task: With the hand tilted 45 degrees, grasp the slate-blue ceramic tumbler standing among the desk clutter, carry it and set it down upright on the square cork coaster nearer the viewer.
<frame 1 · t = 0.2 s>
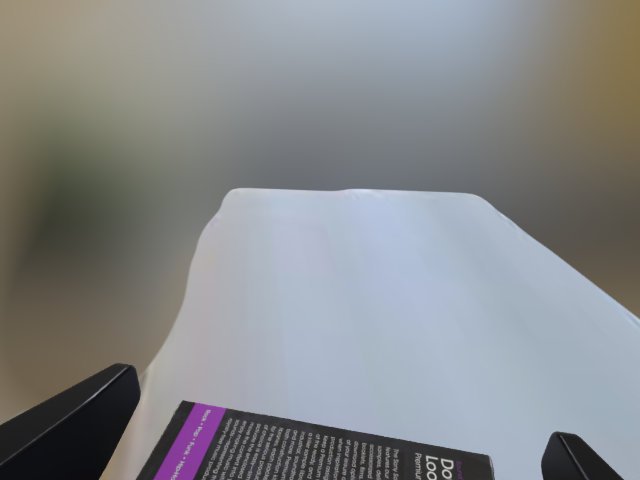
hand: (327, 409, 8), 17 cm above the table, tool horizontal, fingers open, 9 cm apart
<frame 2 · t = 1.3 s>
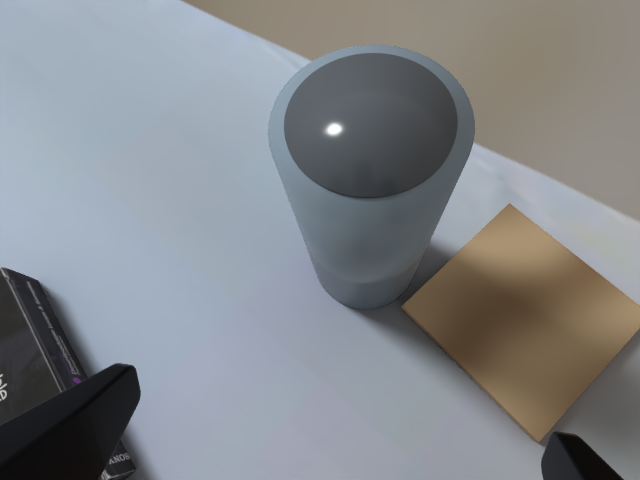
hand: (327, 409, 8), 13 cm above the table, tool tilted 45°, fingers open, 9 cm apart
coaster: (518, 312, 22), on the table
tumbler: (364, 259, 24), on the table
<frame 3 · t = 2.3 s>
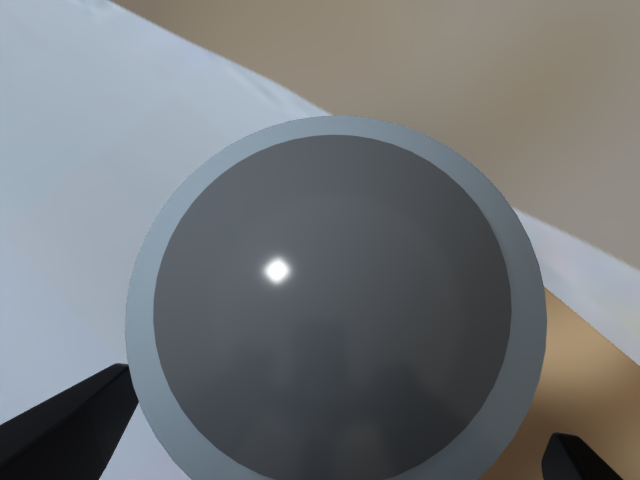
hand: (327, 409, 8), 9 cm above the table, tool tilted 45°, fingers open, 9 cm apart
coaster: (559, 443, 16), on the table
tumbler: (348, 359, 18), on the table
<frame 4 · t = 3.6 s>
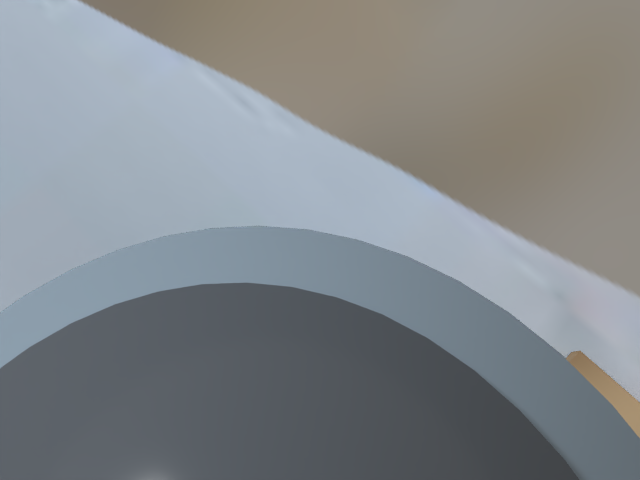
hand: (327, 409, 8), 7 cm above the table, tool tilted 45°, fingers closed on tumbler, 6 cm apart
tumbler: (336, 442, 14), on the table, touching gripper
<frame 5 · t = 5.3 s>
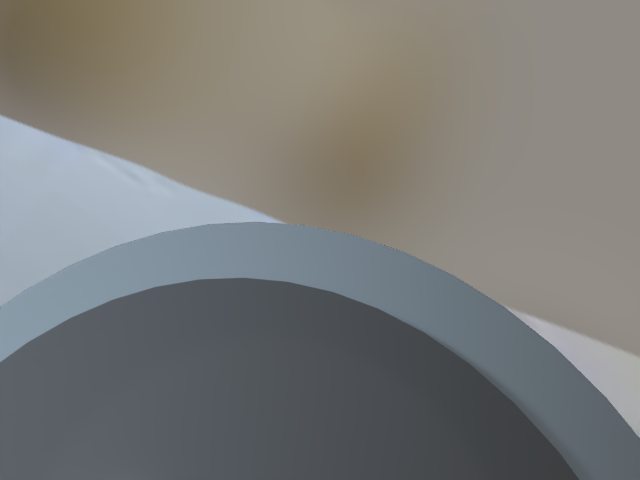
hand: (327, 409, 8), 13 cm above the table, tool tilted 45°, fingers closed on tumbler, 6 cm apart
tumbler: (336, 441, 14), point 7 cm above the table, touching gripper
when the fingers open (8 cm above the table, at t = 7.0 s): tumbler stays where it is, resting on coaster.
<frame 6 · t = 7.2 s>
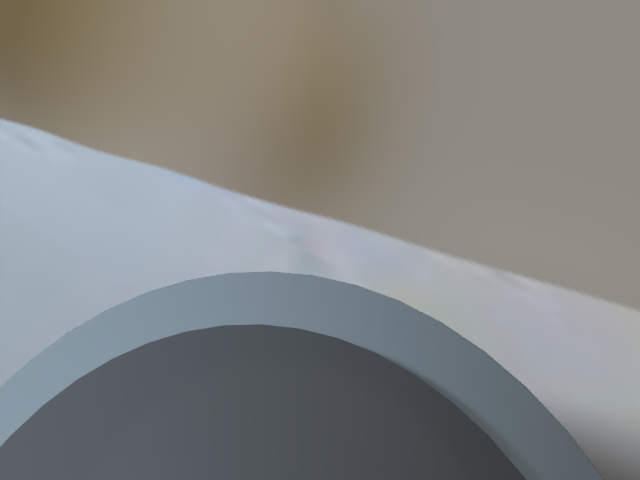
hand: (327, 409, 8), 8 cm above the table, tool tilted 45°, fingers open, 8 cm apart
tumbler: (337, 444, 15), point 1 cm above the table, touching coaster
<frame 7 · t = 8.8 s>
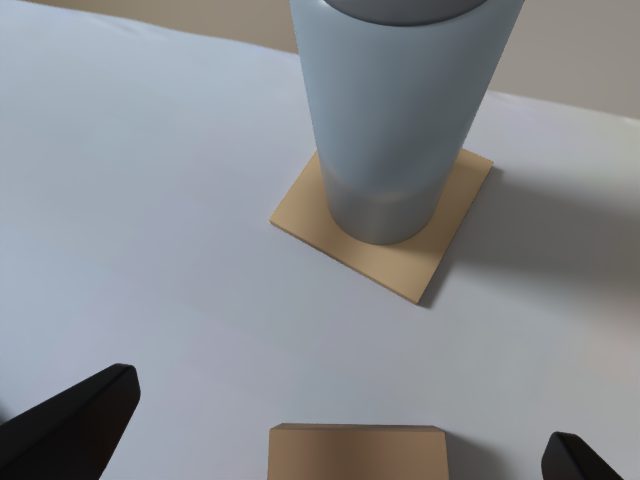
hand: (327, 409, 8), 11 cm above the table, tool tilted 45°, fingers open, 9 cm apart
coaster: (380, 195, 22), on the table
tumbler: (380, 193, 22), point 1 cm above the table, touching coaster
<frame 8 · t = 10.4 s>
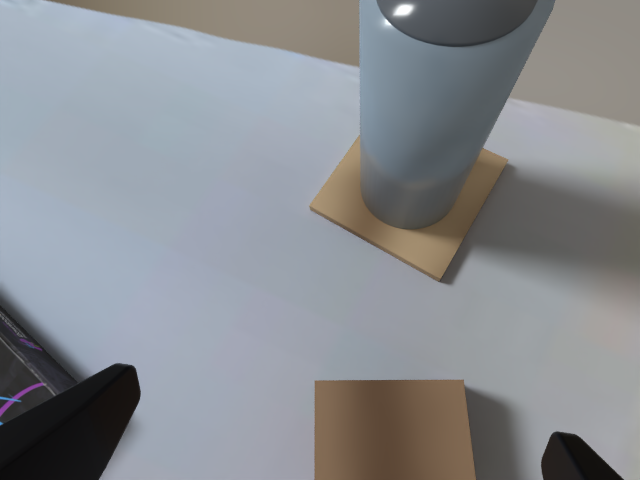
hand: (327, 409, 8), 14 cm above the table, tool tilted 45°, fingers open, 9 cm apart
coaster: (407, 187, 25), on the table
walnut block: (387, 432, 21), on the table
tumbler: (408, 184, 25), point 1 cm above the table, touching coaster
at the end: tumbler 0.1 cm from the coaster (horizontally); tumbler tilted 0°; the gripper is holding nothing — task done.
